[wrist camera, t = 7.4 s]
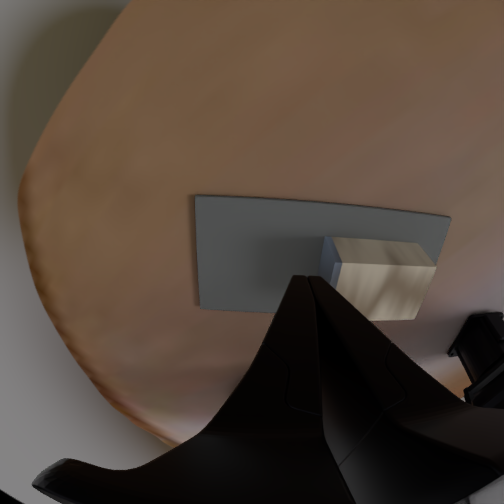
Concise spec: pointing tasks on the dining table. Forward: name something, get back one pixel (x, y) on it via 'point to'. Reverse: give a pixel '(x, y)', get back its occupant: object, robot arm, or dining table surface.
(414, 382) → the robot arm
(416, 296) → the block
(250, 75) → the dining table surface
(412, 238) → the mat
